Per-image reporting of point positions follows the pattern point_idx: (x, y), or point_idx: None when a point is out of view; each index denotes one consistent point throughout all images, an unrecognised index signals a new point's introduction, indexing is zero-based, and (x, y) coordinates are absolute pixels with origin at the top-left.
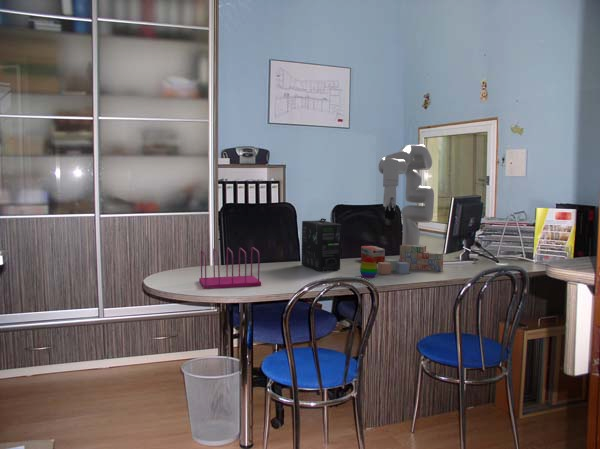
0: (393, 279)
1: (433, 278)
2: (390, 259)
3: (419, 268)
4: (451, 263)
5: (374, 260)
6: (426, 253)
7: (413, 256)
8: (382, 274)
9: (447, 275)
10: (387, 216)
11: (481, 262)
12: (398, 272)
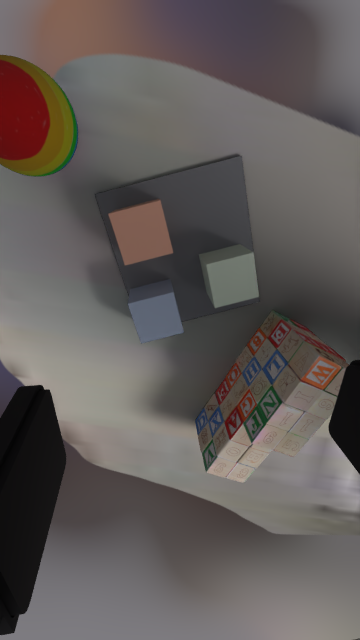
0: (16, 246)
1: (70, 386)
2: (252, 280)
3: (232, 372)
4: (335, 465)
5: (2, 151)
6: (235, 432)
7: (258, 380)
8: (106, 213)
9: (131, 429)
10: (355, 409)
11: (333, 523)
12: (140, 287)
